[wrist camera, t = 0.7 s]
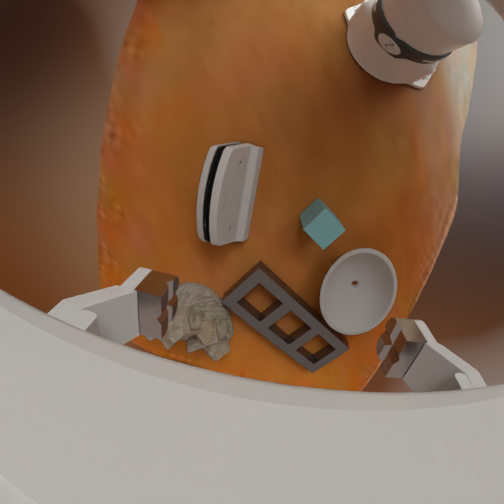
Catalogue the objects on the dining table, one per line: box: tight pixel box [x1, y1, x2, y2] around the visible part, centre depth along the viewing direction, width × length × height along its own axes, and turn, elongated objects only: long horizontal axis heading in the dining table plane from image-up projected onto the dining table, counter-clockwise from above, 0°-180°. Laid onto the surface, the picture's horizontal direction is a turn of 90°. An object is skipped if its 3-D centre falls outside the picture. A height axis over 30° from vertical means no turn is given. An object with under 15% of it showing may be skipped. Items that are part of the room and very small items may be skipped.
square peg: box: [300, 197, 345, 250], centre depth 42 cm, size 4×4×8 cm
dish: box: [320, 248, 397, 335], centre depth 48 cm, size 18×14×5 cm
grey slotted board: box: [222, 261, 349, 373], centre depth 53 cm, size 10×26×3 cm, turn 47°
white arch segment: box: [197, 142, 264, 246], centre depth 42 cm, size 17×5×10 cm, turn 170°
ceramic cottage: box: [145, 282, 234, 361], centre depth 50 cm, size 16×16×15 cm
